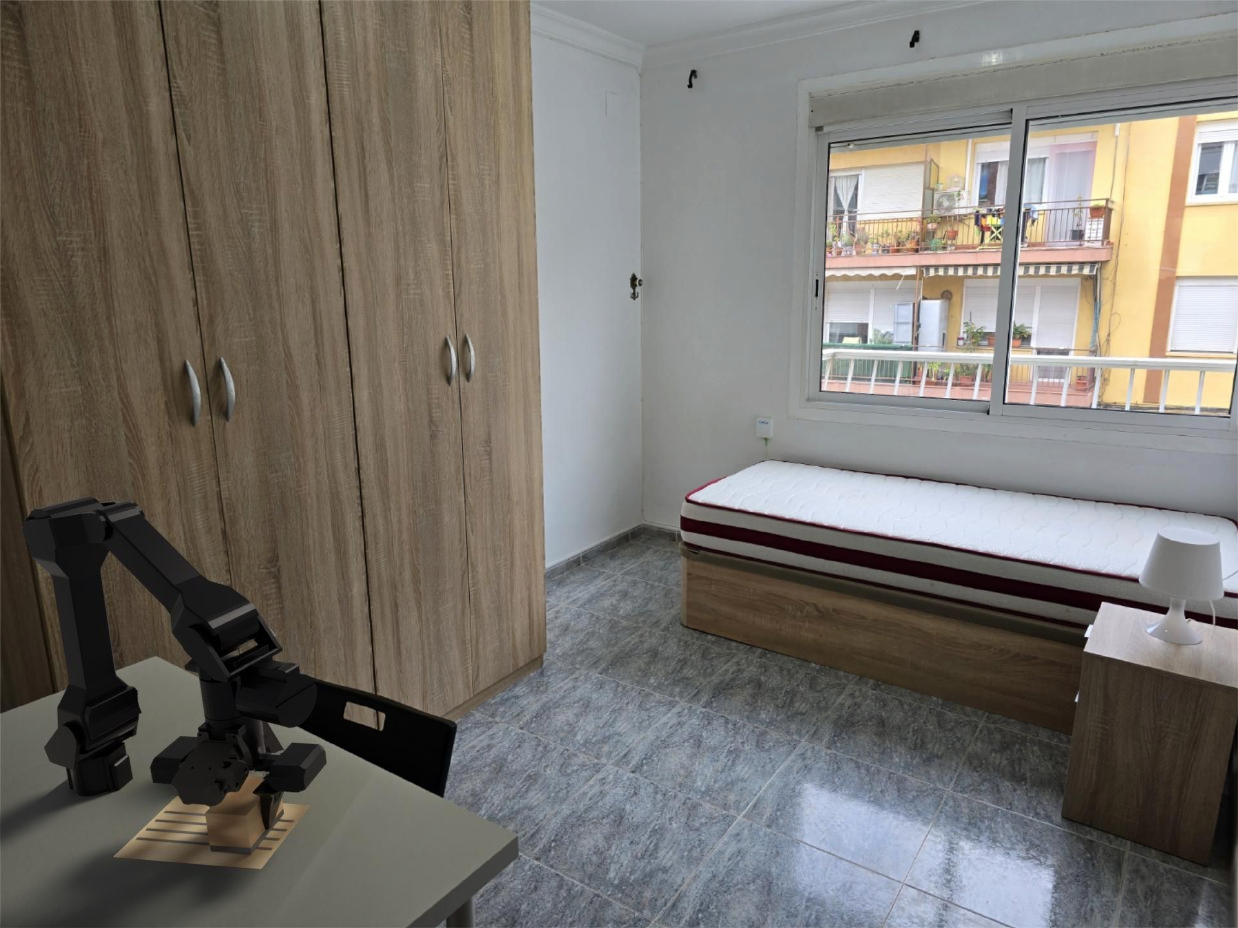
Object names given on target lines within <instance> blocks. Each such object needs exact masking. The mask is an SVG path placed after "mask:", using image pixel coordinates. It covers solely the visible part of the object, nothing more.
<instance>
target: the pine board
mask: <svg viewBox="0 0 1238 928" xmlns="http://www.w3.org/2000/svg"><path fill="white" fill-rule="evenodd" d="M310 807H311V805H310V804H297V803H285V802H283V809H284V815H283V816H282V817H281V818H280V820H279V821H278V822H277V823H276V824H275V826H274V827H273V828H272V829H271V831H270V832H269V833H268V834H267V836H266V837H265V838H264V839H263V840H262V842H261V843H260V844H259V845H258V847H257V848H256V849H255V850H254V851H253V853H252V854H243V853H230V852H216V851H211V850H210V843H209V837H208V830H207V824H206V817H205V812H206V811H207V810H208V809H209V808H210V807H209V806H206V805H199V804H191V805H185V804H183V803H182V801H181V800H180V798H179V796H178V795H177V796H175V797H174V798H173V799H172V800H171V801H169V803H168V804H167V805H166V806H165V807H163V809H162V810H161V811H159V813H157V814H156V815H155V816H154V817H153V818H152V819H150V821H149V822H148V823H147V824H146V825H145V826H144V827H143V828H141V830H140V831H138V833H136V834H135V835H134V836H133V837H132V838H131V839H130V840H129V841H128V842H127V843H126V844H125V845H124V846H123V847H122V848H121V849H119V851H118V852H116V853H115V854H114V856H113V858H118V859H119V858H120V859H131V860H132V859H133V860H142V861H143V860H146V861H157V862H168V863H180V864H193V865H194V864H195V865H205V866H217V867H218V866H219V867H230V868H242V869H243V868H244V869H253V870H262V868H264V867H265V865H266V864H267V862H268V861H269V860H270V859H271V857H272V856H273V855H274V854H275V852H276V850H277V849H278V848H279V847H280V845H281V844H282V843H283V842H284V841H285V839H286V838H287V837H288V835H289V834H290V833H291V831H292V830H293V829H294V827H296V825H297V823H298V822H299V821H301V819H302V817H304V814H305V813H306V812H307V811H308V809H309V808H310Z"/></svg>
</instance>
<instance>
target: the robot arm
mask: <svg viewBox="0 0 1238 928" xmlns="http://www.w3.org/2000/svg"><path fill="white" fill-rule="evenodd" d="M22 534H23V538H24V540H25V542H26V544H27V546H28V549H29V552H30V555H31V558H32V560H34V561H35V562H36V563H37V564H38V565H40V566H41V567H42V568H43V569H44V570H45V571H46V572H47V573H49V574H50V576H51V580H52V586H53V592H54V600H55V605H56V611H57V617H58V623H59V624H58V625H59V629H60V635H61V641H62V649H63V655H64V659H65V660H64V661H65V665H66V666H65V667H66V672H67V678H68V679H67V680H68V685H67V687H66V689H65V691H64V693H63V695H62V697H61V699H60V701H59V702H58V705H57V707H56V712H57V713H56V714H57V715H56V717H57V729H56V730H55V731H54V733H53V734H52V735H51V737H50V738H49V740H48V741H47V742H46V744H44V748H43V749H44V752H45V753H46V756H47V759H48V761H49V763H52V764H54V765H56V766H57V765H58V766H60V767H63V768H65V771H66V775H67V776H66V777H67V781H68V787H69V788H68V789H69V790H72V791H74V794H75V795H77V796H79V797H94V796H99V795H102V794H104V793H113V792H118V791H121V790H122V789H123V788H125V786H127V784H129V783H130V782H131V781H132V780H134V777H133V772H132V770H133V769H132V765H131V760H130V759H131V757H130V755H129V754H127V749H126V743H125V742H124V741H126V740H129V739H131V738H134V737H135V736H136V735H137V733H138V724H139V720H140V715H141V714H142V709H141V707H140V704H139V691H138V689H137V688H136V687H135V686H132V685H129V684H127V682H125V681H124V680H123V679H122V678H121V677H119V676H118V675H117V671H116V664H115V658H114V651H113V644H112V638H111V630H110V624H109V619H108V617H109V616H108V609H107V605H106V604H107V603H106V596H105V590H104V581H103V576H102V568H103V565H104V564H105V561H106V559H107V558H108V555H109V553H111V554H112V555H113V556H114V557H115V558H116V559H117V560H118V561H119V562H120V563H121V564H122V565H123V566H124V567H125V568H126V570H128V571H129V573H130V574H131V575H132V576H134V578H136V579H137V581H139V583H140V584H141V585H143V587H144V588H145V589H146V590H147V591H149V593H150V594H152V596H153V597H154V598H155V599H156V600H157V601H158V602H159V603H160V604H161V605H162V606H163V608H165V610H166V611H167V613H169V615H170V617H169V618H170V628H171V629H170V630H171V633H172V635H173V636H174V638H175V639H176V641H177V642H178V643H179V644H180V646H181V647H182V649H183V651H184V652H185V654H187V655H188V657H190V658H191V659H189V661H187V662H186V663H185V664H184V666H183V667H184V669H185V671H187V672H188V671H189V672H192V673H197V674H198V680H199V686H200V687H199V688H200V695H201V704H202V708H203V716H204V722H203V723H202V724H201V725H199V726H198V727H197V734H196V736H192V735H191V736H188V735H180V736H178V737H177V738H176V739H175V740H174V741H172V742H171V743H169V744H168V745H167V747H165V748H164V749H162V751H161V752H159V753H158V754H157V755H155V757H154V758H153V759H152V760H151V763H150V765H149V766H150V767H149V770H150V771H149V772H150V775H151V776H150V777H151V781H152V784H161V785H163V784H164V785H172V788H173V789H174V791H175V792H176V795H177V796H179V798H180V800H181V801H182V803H183V804H185V805H191V804H199V805H206V806H209V807H211V806H216V805H218V804H220V803H221V802H222V801H223V800H224V798H225V797H226V795H227V793H229V792H238V791H239V790H240V789H241V787H242V785H243V784H244V782H245V780H246V779H247V777H248V776H250V774H254V773H256V772H258V773H262V777H263V781H262V782H261V783H260V784H259V786H258V787H257V788H256V789H255V790H254V791H253V794H255V795H258V796H260V802H261V811H262V819H263V824H264V827H265V830H269V829H270V828H271V827H272V825H273V823H274V820H275V817H276V814H277V811H278V808H279V805H280V802H281V799H282V800H283V796H284V793H298V794H299V793H301V792H304V791H305V790H307V788H308V787H309V786H310V785H311V784H312V782H313V781H314V779H315V778H316V777H317V776H318V775H319V773H321V771H322V770H323V768H324V767H325V766H326V765H327V752H326V749H325V747H324V746H323V745H321V744H320V743H308V742H293V741H292V742H291V743H290V744H289V745H288V746H286V747H287V748H284V750H282V751H278V752H276V753H266V751H265V748H266V747H267V746H268V745H269V744H270V743H271V735H268V734H263V727H262V721H264V722H268V724H273V725H274V726H275V725H276V726H280V727H284V728H286V729H287V728H288V729H293V728H294V729H295V728H296V727H297V728H298V727H299V726H300V725H302V724H303V723H305V721H307V719H308V718H309V716H310V715H311V714H312V712H313V710H314V708H315V705H316V702H317V696H318V688H317V684H315V682H314V679H313V678H312V677H311V676H310V675H309V674H306V673H302V672H301V670H300V668H301V667H300V665H299V663H297V662H296V663H295V662H290V661H289V662H284V661H279V660H274V659H273V657H275V656H277V655H280V653H282V652H283V651H284V650H283V648H282V645H281V644H280V642H279V640H277V637H278V636H277V635H276V634H275V632H274V631H273V630H272V629H271V627H269V625H268V624H267V623H266V620H265V619H264V617H262V615H261V613H260V612H259V610H258V608H257V607H256V606H255V605H254V604H253V603H252V602H251V601H250V600H249V599H248V598H246V597H245V596H243V594H241V593H239V591H237V590H235V588H233V587H232V586H230V585H226V584H222V583H220V582H215V581H212V580H210V579H208V578H207V577H205V576H204V575H203V574H202V573H201V572H200V571H199V570H198V569H196V567H195V566H194V565H193V564H192V563H191V562H190V561H189V560H188V559H187V558H185V556H184V555H182V553H181V552H180V551H178V549H177V548H176V547H175V546H173V545H172V543H171V542H170V541H168V540H167V538H166V537H165V536H163V534H162V533H161V532H159V531H158V529H156V528H155V526H154V525H153V524H152V523H151V522H150V521H148V519H147V518H146V515H145V512H144V511H143V509H142V507H141V506H140V505H139V504H138V503H137V502H132V501H120V500H112V501H109V500H108V501H101V502H100V501H99V500H98V499H97V498H95V497H92V496H90V495H88V496H87V495H86V496H83V497H82V496H81V497H78V498H75V499H71V500H66V501H61V502H59V503H58V502H57V503H54V504H50V505H45V506H42V507H41V506H40V507H38V508H37V507H36V508H33V510H31V511H30V513H29V514H28V516H27V517H25V518H24V522H23V525H22ZM253 642H255V644H257V645H255V646H253V647H250V648H249V649H246V650H245V651H243V652H241V653H239V654H235V653H233V652H236V651H237V650H239V649H241V648H242V647H245V646H246V645H249V644H251V643H253Z"/></svg>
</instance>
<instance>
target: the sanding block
mask: <svg viewBox="0 0 1238 928" xmlns="http://www.w3.org/2000/svg"><path fill="white" fill-rule="evenodd" d="M262 781H263V776H253V775H252V776H251V775H248V777H247V779H246V780H245V782H244V784H243V785H242V787H241V789H240V790H239V791H238V792H229V793H227V795H226V797H225V798H224V800H223V801H222V802H221V803H220V804H218V805H216V806H211V807H210V808H209V809H208V810H207V811H206V812H205V817H206V824H207V830H208V837H209V843H210V850H211V851H216V852H230V853H243V854H252V853H253V851H254V850H255V849H256V848H257V847H258V845H259V844H260V843H261V842H262V840H263V839H264V838H265V837H266V836H267V834H268V833H269V832H270V831H271V829H272V828H273V827H274V826H275V824H276V823H277V822H278V821H279V820H280V818H281V817H282V816H283V815H284V809H283V803H284V802H283V798H282V799H281V802H280V805H279V808H278V811H277V814H276V817H275V820H274V823H273V825H272V827H271V828H270V829H269V830H265V827H264V824H263V819H262V811H261V802H260V796H258V795H255V794H253V791H254V790H255V789H256V788H257V787H258V786H259V784H260V783H261V782H262Z"/></svg>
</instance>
